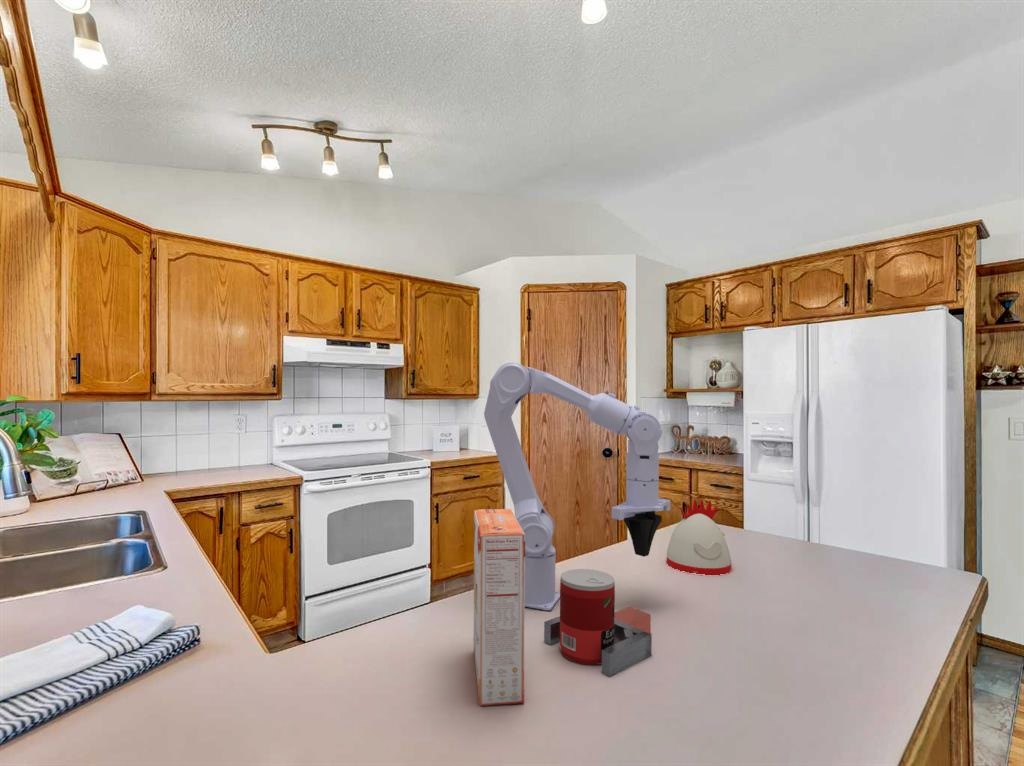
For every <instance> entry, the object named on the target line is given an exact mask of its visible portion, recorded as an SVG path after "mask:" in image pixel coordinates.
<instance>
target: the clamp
mask: <svg viewBox="0 0 1024 766" xmlns="http://www.w3.org/2000/svg"><path fill="white" fill-rule="evenodd" d="M651 615H652V614H651V613H649V612H645V611H643V610H640V609H637V608H635V607H633V606H628V607H625V608H623V609H620V610H618V611H615V619H614V645H612V646H610V647H607V648H605V649H603V650H602V664H601V673H602V674H603V675H606V676H608V677H612V676H614V675H617V674H618V673H620V672H622V671H624V670H626V669H627V668H628V669H629V667H632V666H633V665H635V664H638V663H639V662H641V661H643V660H645V659H648V658H649V657H652V643H653V641H652V637H653V635H652V634H651V632H652V631H651V627H652V626H651V623H652V622H651V620H652V618H651ZM543 625H544V626H543V628H544V631H543V642H544V643H545V644H548V645H550V646H553V645H555V644H557V643H560V615H559V616H556V617H554V618H550V619H548V620H545V621H544V623H543Z"/></svg>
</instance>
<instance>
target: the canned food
mask: <svg viewBox="0 0 1024 766" xmlns="http://www.w3.org/2000/svg"><path fill="white" fill-rule="evenodd" d="M559 583H560V584H559V585H560V586H559V593H560V598H559V616H560V641H559V647H560V650H561V653H562V655H563V656H564V657H565V658H566V659H568V660H569V661H571V662H574V663H577V664H581V665H587V664H588V665H589V666H590V665H591V666H594V665H595V664H597V665H602V650H603V649H605V648H607V647H610V646H612V645H614V619H615V612H616V611H615V607H616V606H615V603H616V599H615V597H616V589H615V586H616V585H615V583H616V582H615V578H614V577H613V575H611V574H609V573H608V572H607V573H606V572H605V571H601V570H597V569H596V570H595V569H589V568H575V569H569V570H566V571H564V572H562V573H561V574H560V581H559ZM595 666H596V665H595Z"/></svg>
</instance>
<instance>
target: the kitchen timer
mask: <svg viewBox="0 0 1024 766" xmlns="http://www.w3.org/2000/svg"><path fill="white" fill-rule="evenodd" d="M686 508H687V514H686V512H684V509H682V508H680V513H681V515H682V517H683V518H682V519H681V520H680V521H679V523H678V524H677V525H676V526H675V528H674V529H673V531H672V533H671V536H670V540H669V543H668V546H667V550H666V564H668V565H669V566H671V567H672V568H671V567H670V568H671V569H673V568H674V569H673V570H675V569H678V570H680V571H679V572H681V571H685V572H689V573H696V574H705V575H719V576H721V575H720V574H725V575H727V574H726V573H728V572H730V571H732V558H731V553H730V550H729V546H728V544H727V541H726V537H725V534H724V533H723V531H722V530H721V528H720V527H719V526H718V525H717V523H716V522H715V521H714V520H713V519H714V516H715V514H716V513H717V510H718V506H717V505H714V507H713V508H712V500H708V501H707V504H706V508H705V504H704V501H703V499H700V500H699V506H698V501H697V499H695V498H694V499H693V502H692V507H691V506H690V504H688V503H686ZM668 565H667V566H668ZM669 566H668V567H669ZM678 570H677V571H678ZM685 572H684V573H685ZM689 573H688V574H689ZM730 573H731V572H730ZM728 574H729V573H728Z"/></svg>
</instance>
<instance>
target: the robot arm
mask: <svg viewBox="0 0 1024 766" xmlns="http://www.w3.org/2000/svg"><path fill="white" fill-rule="evenodd" d="M529 393H530V394H533V395H534V394H535V395H538V394H539V395H540V394H543V395H544V394H547V395H550V396H552V397H555V398H557V399H559V400H562V401H564V402H566V403H568V404H570V405H572V406H575V407H577V408H579V409H581V410H583V411H585V413H586V415H587V417H588V418H587V419H588V420H589V421H590V422H591V423H593V424H596V425H598V426H601V427H602V428H604V429H606V430H608V431H611V432H612V433H615V434H616V435H618V436H622V435H623V436H624V435H625V436H626V437H627V453H626V471H625V473H626V478H625V479H626V481H625V485H626V487H625V488H626V490H625V494H626V495H625V499H626V500H625V501H624V502H622V503H620V504H618V505H615V506H611V519H613V520H618V521H624V524H625V525H626V527H627V529H628V531H629V535H630V538H631V542H632V546H633V549H634V554H635V555H637V556H641V557H648V556H650V555H649V554H650V550H651V547H652V543H653V541H654V537H655V534H656V533H657V529H658V528H659V526H660V525H661V523H662V522H663V518H662V517H663V516H662V515H661V514H656V513H657V512H662V511H666V512H668V511H671V499H666V498H659V497H660V496H659V490H660V488H659V485H660V484H659V483H660V481H659V480H660V479H659V476H660V470H659V469H660V454H659V441H660V439H661V437H662V434H663V429H662V427H661V423H660V422H659V421H658V419H657V418H656V417H655V416H654V415H653V414H650V413H647V412H645V411H640V410H641V407H640V406H637V405H634V406H631V405H629V404H627V403H626V402H623V401H621V400H619V399H617V395H616V394H614V393H612V392H609V393H608V394H607V393H605V392H601V393H598V394H595V395H591V394H590V393H588V392H586V391H583V390H582V389H580V388H577V387H576V386H574V385H573V384H570V383H568V382H566V381H564V380H562V379H560V378H558V377H557V376H554V375H552V374H550V373H549V372H546V371H543V370H539V369H536V368H533V367H529V366H527V367H526V366H524V365H522V364H520V363H519V362H515V361H514V362H513V361H510V362H506V363H504V364H502V365H500V366H499V368H498V369H497V370H496V372H495V373H494V375H493V376H492V378H491V380H490V381H489V389H488V394H487V399H486V403H485V408H484V411H483V412H484V413H483V415H484V421H485V423H486V426H487V429H488V431H489V435H490V437H491V441H492V444H493V447H494V450H495V452H496V453H495V454H496V456H497V460H498V462H499V465H500V469H501V470H502V471H501V472H502V474H503V477H504V480H505V483H506V486H507V489H508V492H509V494H510V498H511V501H512V503H513V504H512V505H513V508H514V516H515V518H516V519H517V521H518V523H519V524H520V526H521V528H522V530H523V532H524V533H525V608H532V609H537V610H545V611H551V610H552V609H553V608H554V607H555V605H556V603H557V602H558V601H560V591H559V592H557V591H556V556H557V555H556V553H557V552H556V548H555V547H554V545H553V535H554V532H555V526H556V525H555V521H554V519H553V517H552V516H551V515H550V514H549V513H548V512H547V511H546V509H545V508H544V505H543V503H542V500H541V498H540V497H539V495H538V492H537V489H536V486H535V484H534V480H533V477H532V475H531V471H530V469H529V466H528V463H527V460H526V457H525V454H524V451H523V448H522V444H521V441H520V440H519V439H520V438H519V437H518V436H519V435H518V434H517V431H516V427H515V424H514V420H513V419H512V417H513V414H514V412H515V410H516V409H517V407H518V405H519V404H520V402H521V401H522V400H523V399H524V398H525V397H526V396H527V395H528V394H529Z"/></svg>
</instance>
